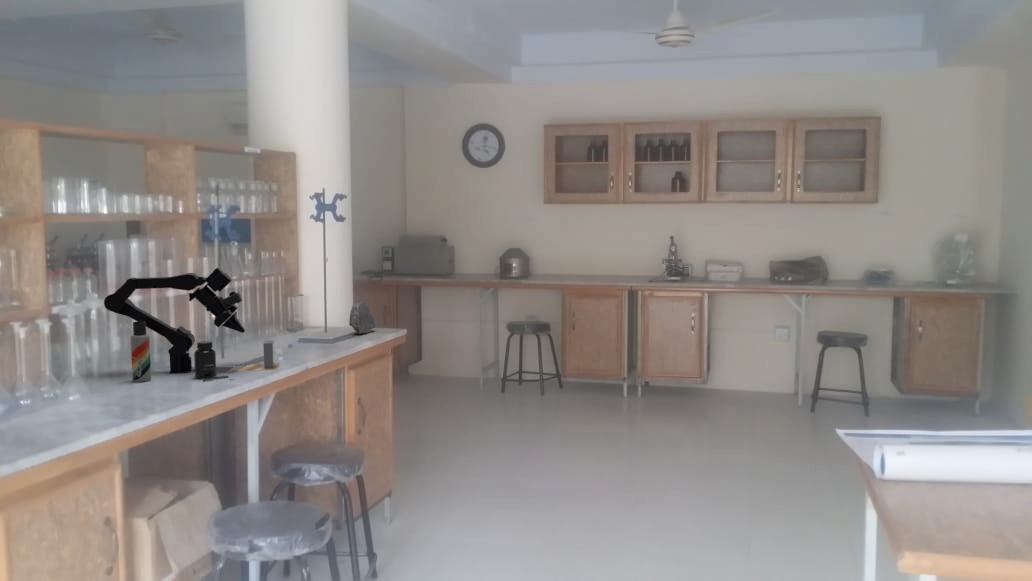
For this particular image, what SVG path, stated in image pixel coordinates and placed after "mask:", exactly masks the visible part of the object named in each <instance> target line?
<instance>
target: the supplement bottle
mask: <svg viewBox="0 0 1032 581" xmlns="http://www.w3.org/2000/svg"><path fill="white" fill-rule="evenodd" d="M213 347H214V346H213V341H207V340H206V341H198V342H196V348H197V350H195V352H194V355H193V357H194V377H195V378H196V379H200V380H201V379H202V378H208V377H217V353H216V350H214V349H213ZM202 380H203V379H202Z"/></svg>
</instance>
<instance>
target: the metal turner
mask: <svg viewBox="0 0 1032 581" xmlns="http://www.w3.org/2000/svg"><path fill="white" fill-rule="evenodd" d="M222 379H229V375H216V376H214V377H208V378H202V382H203V383H205V382H206V381H208V382H214V380H222ZM231 381H235V380H234V378H233V379H231Z"/></svg>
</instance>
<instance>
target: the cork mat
mask: <svg viewBox="0 0 1032 581" xmlns="http://www.w3.org/2000/svg"><path fill="white" fill-rule="evenodd" d="M250 364H251V365H247V366H245V367H243V368H240V369H235V370H231V369H229V372H230V373H231V372H247V371H248V372H249V371H250V372H252V371H253V372H254V371H274V370H275V371H276V370H278V368H279V365H280V362H275V365H274V367H273V368H267V369H264V363H250Z"/></svg>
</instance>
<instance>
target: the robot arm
mask: <svg viewBox="0 0 1032 581" xmlns="http://www.w3.org/2000/svg"><path fill="white" fill-rule="evenodd" d="M231 282H233V280H232V278H231V277H230V276H229V275H228V273H226V272H224V271H223V270H221V269H220V268H218V267H216V268H215V269H214V270H213V271H212V272H211V273H210V274H209V275H208V276H207V277H205V276H199V275H197V274H196V273H194V272H188V273H183V274H178V275H173V276H160V277H159V276H158V277H131V278H130V277H129V278H128V279H126V281H125V282H124V283H123V285H121V286H120V287H119V288H118V289H117V290H116V291H114V292H113V293H110V294H108V295H106V297H105V298H104V300H103V305H104V308H105V309H106V310H107V311H109V312H112V313H116V314H118V315H120V316H121V315H122V316H126V317H128V318H131V319H132V320H134V322H145V323H146V328H148V329H150V330H152V331H153V332H155V333H157V334H159V336H163V337H164V338H165V339H166V340H167V341H168V342H169V344H171V345H172V346H171V347H170V348H169V350H167V351H168V354H169V368H170V369H169V374H178V373H179V374H181V373H190V372H191V370H192V368H193V366H192V364H193V363H192V357H191V356H190V352H189V351H190V349H191V348H192V347H193V346H194V345H195V344H196V338H195V335H194V334H193V333H192V331H191V330H188V329H186V328H185V327H184V326H182V325H180V326H178V327H173V326H171V325H169V324H168V323H166V322H164V321H162V320H160V319H159V318H157V317H155V316H153V315H151V313H148V312H147V311H145V310H143V309H141V308H139V307H138V306H137V305H135V304H134V303H133V301H132V300H131V299H130V297H131V295H133V293H134V292H135V291H136V290H145V289H146V290H148V289H149V290H151V289H174V290H181V291H193V290H194V289H195V290H194V291H193V292H189V293H188V296H189V298H188V301H189V302H192V301H193V300H197V302H199V303H200V304H201V306H203V307H204V308H205V310H206V311H207V312H210V314H212V315H213V316H214V320H213V324H214V325H215V327H217V328H219V327H220V326H222V327H225V328H228V329H230V330H234V331H236V332H239V333H243V334H244V332H246V329H245V328H244V327H243V325H242V324H241V322H240V320H239V319H238V311H237V310H238V309H239V307H238V306H237V305H236V304H239V303H241V302H242V301H243V298H242V296H241V294H240V292H236V291H234V290H233V291H231V292H229V295H228V296H227V297H222V296H219V295H217V294H216V292H219V293H220V292H221V293H222V291H223V290H224V289H225V288H226V287H227V286H228V285H229V284H230V283H231ZM204 284H205V285H204ZM203 285H204V286H203ZM198 286H199V287H198ZM200 286H203V287H202V288H201V287H200Z"/></svg>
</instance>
